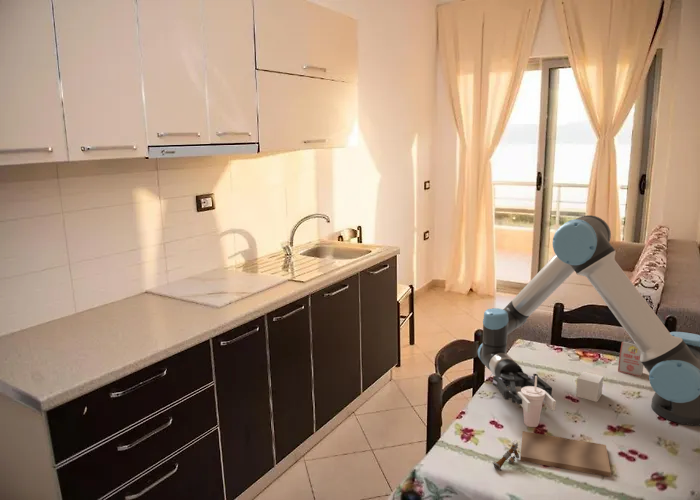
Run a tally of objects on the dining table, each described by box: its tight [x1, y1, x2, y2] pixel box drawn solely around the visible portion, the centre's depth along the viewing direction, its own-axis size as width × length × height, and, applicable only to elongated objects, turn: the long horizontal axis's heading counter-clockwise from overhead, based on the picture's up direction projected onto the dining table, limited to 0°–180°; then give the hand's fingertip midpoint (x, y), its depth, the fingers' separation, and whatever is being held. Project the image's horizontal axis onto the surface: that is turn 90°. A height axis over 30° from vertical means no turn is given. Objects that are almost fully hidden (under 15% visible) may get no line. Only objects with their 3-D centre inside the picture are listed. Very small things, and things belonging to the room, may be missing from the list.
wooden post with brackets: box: [492, 443, 520, 471], centre depth 131 cm, size 2×8×4 cm, turn 124°
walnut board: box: [519, 431, 612, 478], centre depth 134 cm, size 20×12×1 cm, turn 70°
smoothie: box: [520, 376, 545, 428], centre depth 148 cm, size 6×6×14 cm
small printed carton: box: [617, 341, 644, 377], centre depth 179 cm, size 4×7×10 cm, turn 51°
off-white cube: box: [575, 371, 604, 403], centre depth 164 cm, size 6×6×6 cm
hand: (541, 406), depth 143 cm, fingers closed on smoothie, 6 cm apart
